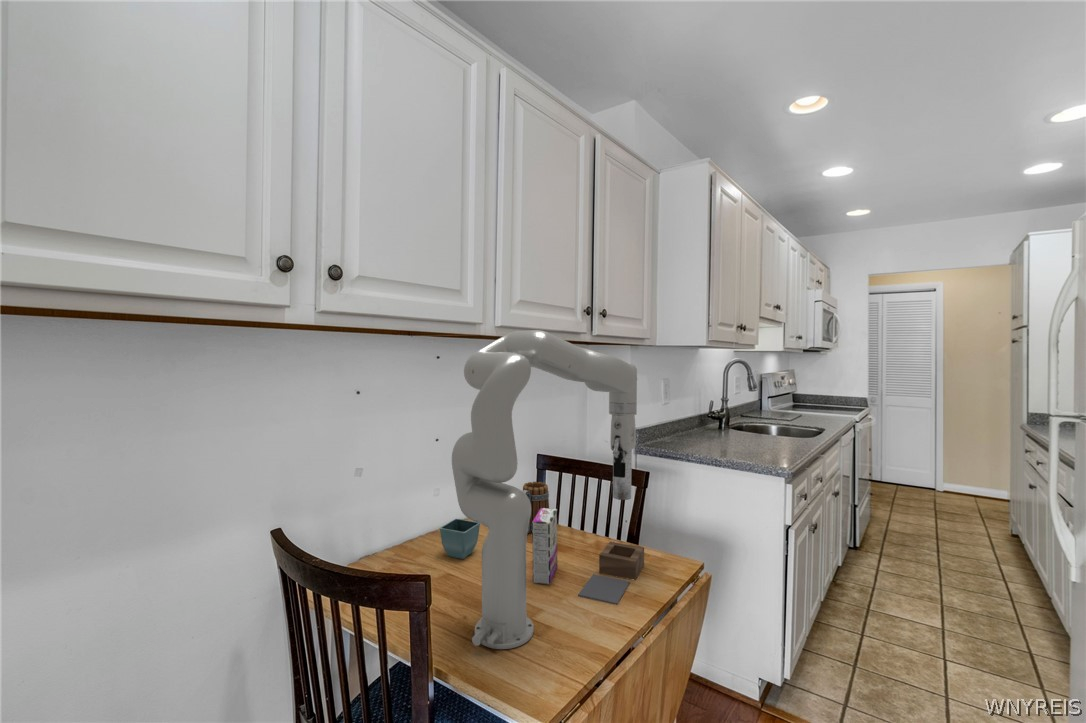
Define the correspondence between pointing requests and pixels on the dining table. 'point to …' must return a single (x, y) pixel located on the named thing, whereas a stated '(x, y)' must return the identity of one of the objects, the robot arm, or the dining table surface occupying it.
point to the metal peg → (623, 480)
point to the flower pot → (459, 537)
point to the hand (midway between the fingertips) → (622, 473)
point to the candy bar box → (544, 545)
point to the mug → (536, 498)
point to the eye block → (621, 560)
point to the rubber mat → (604, 589)
